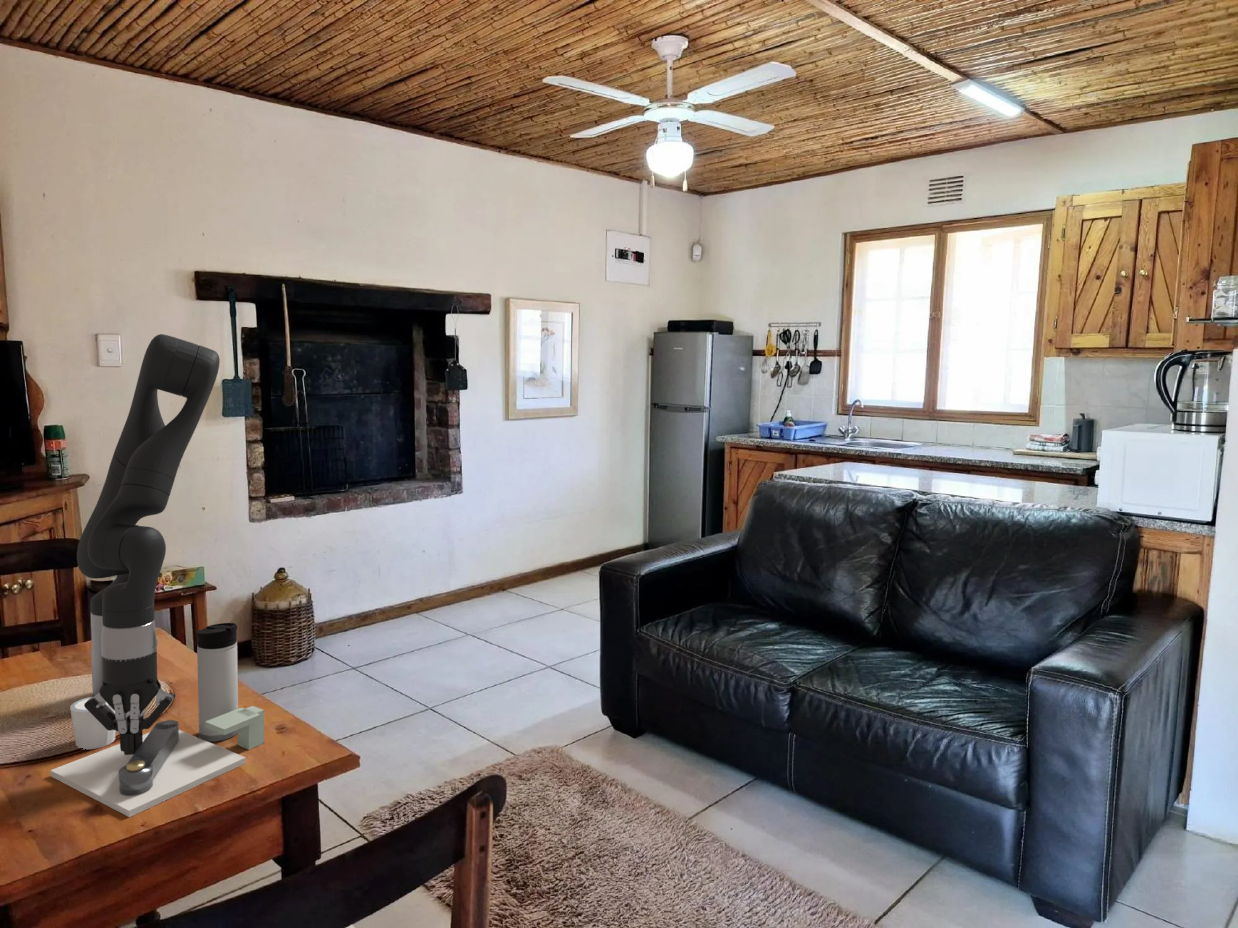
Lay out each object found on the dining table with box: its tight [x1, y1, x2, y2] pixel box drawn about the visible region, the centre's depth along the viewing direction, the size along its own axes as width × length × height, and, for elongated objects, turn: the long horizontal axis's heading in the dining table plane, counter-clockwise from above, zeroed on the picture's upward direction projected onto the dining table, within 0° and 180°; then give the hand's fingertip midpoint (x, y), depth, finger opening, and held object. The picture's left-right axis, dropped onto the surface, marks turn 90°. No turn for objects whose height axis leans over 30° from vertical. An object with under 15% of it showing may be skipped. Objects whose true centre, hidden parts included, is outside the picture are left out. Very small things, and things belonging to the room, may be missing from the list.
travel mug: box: [196, 622, 239, 743], centre depth 142 cm, size 6×7×20 cm
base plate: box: [50, 729, 247, 818], centre depth 130 cm, size 21×19×1 cm
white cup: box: [69, 696, 117, 750], centre depth 138 cm, size 7×7×7 cm
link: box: [119, 719, 180, 795], centre depth 129 cm, size 19×4×4 cm, turn 13°
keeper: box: [205, 705, 265, 750], centre depth 137 cm, size 5×8×6 cm, turn 151°
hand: (131, 752), depth 130 cm, fingers closed
